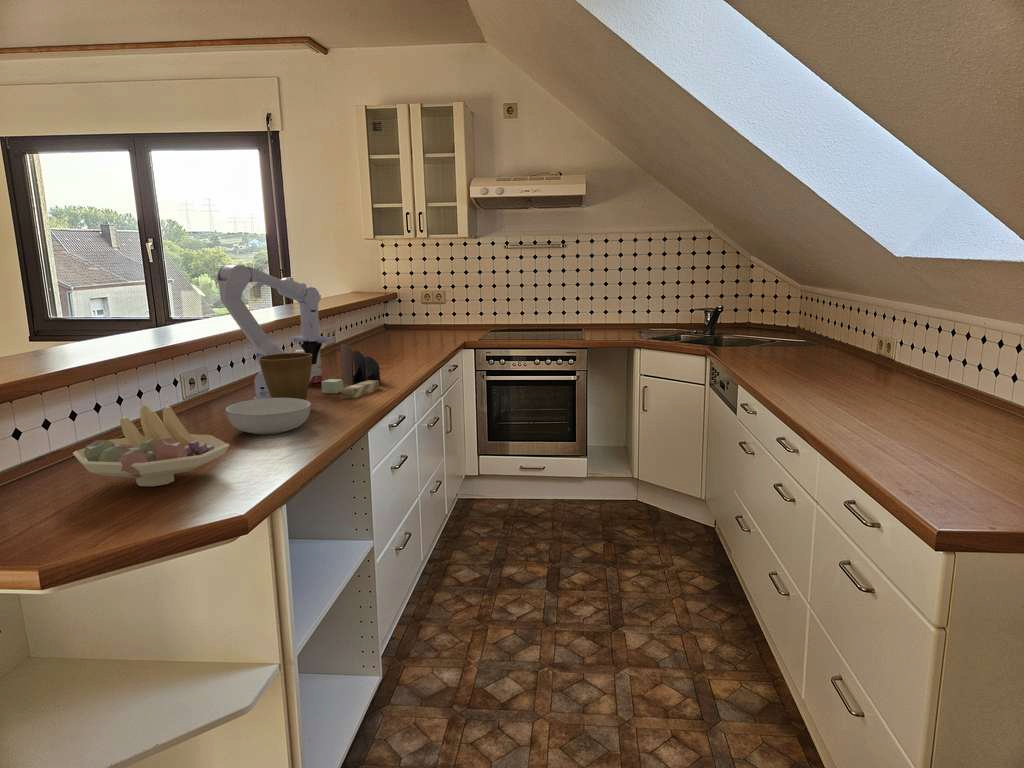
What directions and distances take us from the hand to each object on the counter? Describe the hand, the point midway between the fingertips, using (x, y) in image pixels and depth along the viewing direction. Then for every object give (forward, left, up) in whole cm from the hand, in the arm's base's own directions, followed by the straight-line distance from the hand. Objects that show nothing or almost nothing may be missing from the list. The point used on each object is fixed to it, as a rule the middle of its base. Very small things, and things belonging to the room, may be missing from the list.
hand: (312, 364), depth 235 cm
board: (0, -18, -9) cm, 20 cm away
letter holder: (+17, -7, -9) cm, 21 cm away
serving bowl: (-49, -22, -9) cm, 55 cm away
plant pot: (-26, -10, -9) cm, 29 cm away
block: (0, -7, -9) cm, 12 cm away
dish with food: (-91, -28, -9) cm, 96 cm away
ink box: (+12, +11, -9) cm, 19 cm away
